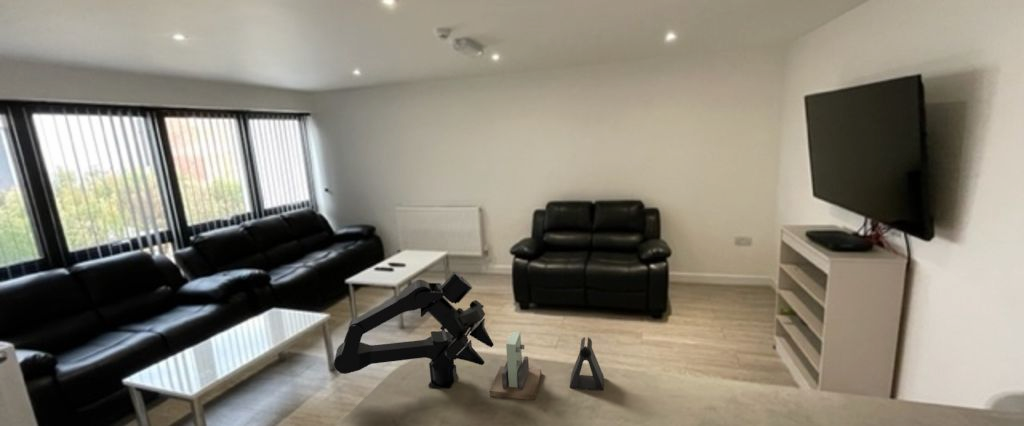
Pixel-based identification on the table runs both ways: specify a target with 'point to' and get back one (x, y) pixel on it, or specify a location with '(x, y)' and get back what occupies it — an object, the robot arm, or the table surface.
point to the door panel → (514, 358)
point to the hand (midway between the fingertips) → (488, 354)
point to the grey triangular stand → (585, 380)
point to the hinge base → (526, 380)
